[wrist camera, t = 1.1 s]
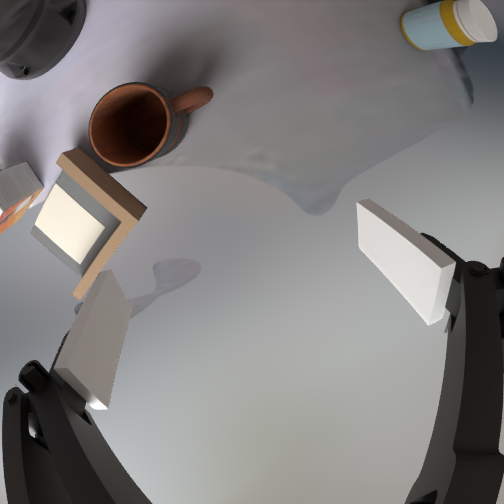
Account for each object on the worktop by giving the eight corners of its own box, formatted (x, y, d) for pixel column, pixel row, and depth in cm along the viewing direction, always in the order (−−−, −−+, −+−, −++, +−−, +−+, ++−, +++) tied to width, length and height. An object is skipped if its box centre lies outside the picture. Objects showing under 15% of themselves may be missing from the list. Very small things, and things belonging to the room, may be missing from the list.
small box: (20, 219, 32) (-18, 249, 23) (3, 193, 29) (-38, 217, 20) (45, 187, 31) (3, 212, 21) (27, 159, 28) (-18, 177, 19)
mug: (225, 129, 32) (231, 133, 21) (137, 167, 32) (105, 190, 22) (201, 68, 28) (195, 43, 17) (113, 109, 28) (70, 108, 18)
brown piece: (32, 231, 33) (16, 245, 29) (79, 147, 29) (61, 152, 25) (90, 281, 38) (80, 300, 34) (147, 207, 35) (138, 221, 30)
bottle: (403, 47, 28) (475, 36, 15) (393, 9, 24) (459, -13, 11) (434, 53, 28) (503, 50, 15) (425, 17, 25) (490, 4, 11)
